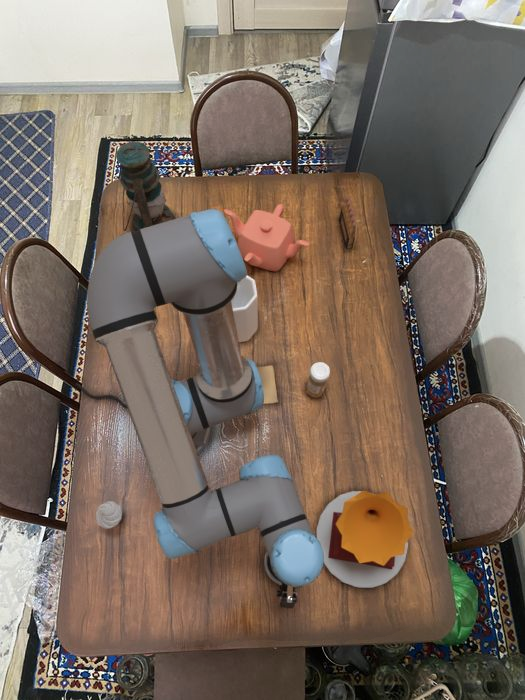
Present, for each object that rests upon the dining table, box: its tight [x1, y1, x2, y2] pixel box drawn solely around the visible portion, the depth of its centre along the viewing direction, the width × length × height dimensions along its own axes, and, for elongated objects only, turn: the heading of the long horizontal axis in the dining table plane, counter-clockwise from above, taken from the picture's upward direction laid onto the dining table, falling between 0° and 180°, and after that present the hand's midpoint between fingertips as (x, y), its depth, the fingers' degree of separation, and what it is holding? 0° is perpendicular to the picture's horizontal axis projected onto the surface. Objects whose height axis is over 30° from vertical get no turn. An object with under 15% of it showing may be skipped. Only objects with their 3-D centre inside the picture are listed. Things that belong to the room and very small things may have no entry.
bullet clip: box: [338, 193, 358, 250], centre depth 145 cm, size 11×2×12 cm, turn 8°
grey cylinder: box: [263, 550, 282, 585], centre depth 113 cm, size 9×9×6 cm
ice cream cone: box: [94, 500, 123, 529], centre depth 112 cm, size 6×6×15 cm
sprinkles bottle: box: [305, 361, 331, 398], centre depth 125 cm, size 5×5×14 cm
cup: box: [231, 275, 259, 343], centre depth 130 cm, size 11×11×18 cm
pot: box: [223, 203, 310, 272], centre depth 142 cm, size 18×17×12 cm
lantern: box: [115, 141, 177, 232], centre depth 137 cm, size 19×14×30 cm
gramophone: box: [315, 489, 414, 589], centre depth 106 cm, size 20×20×25 cm
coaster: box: [256, 364, 279, 405], centre depth 132 cm, size 10×10×1 cm
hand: (286, 561), depth 107 cm, fingers open, 9 cm apart
